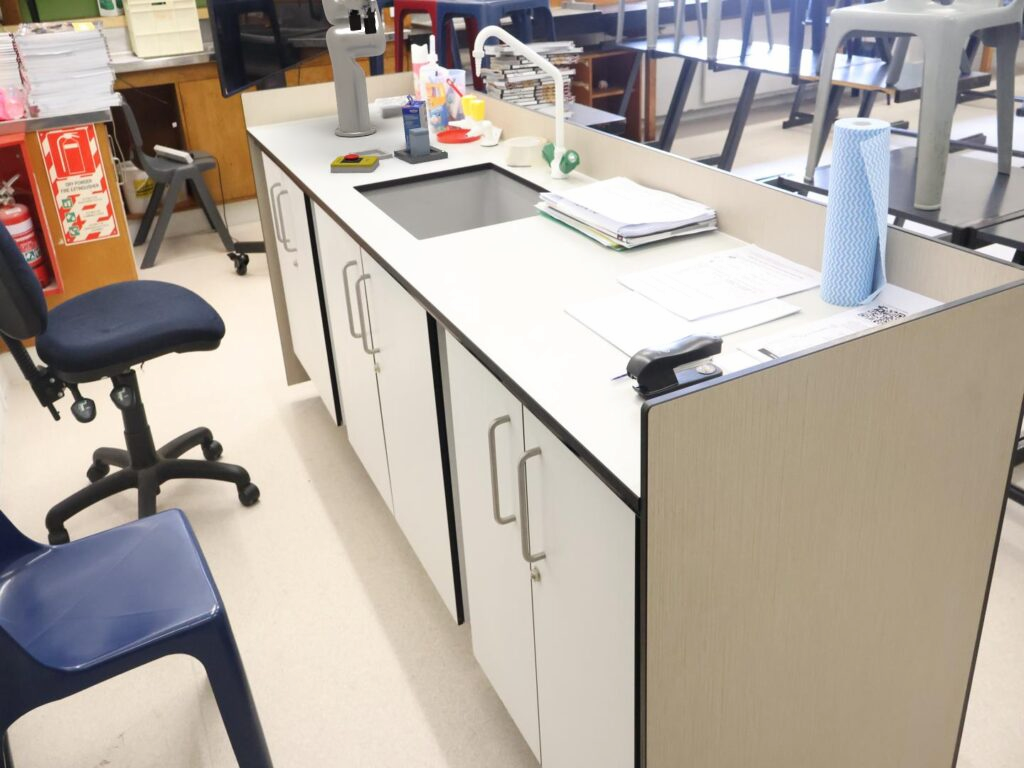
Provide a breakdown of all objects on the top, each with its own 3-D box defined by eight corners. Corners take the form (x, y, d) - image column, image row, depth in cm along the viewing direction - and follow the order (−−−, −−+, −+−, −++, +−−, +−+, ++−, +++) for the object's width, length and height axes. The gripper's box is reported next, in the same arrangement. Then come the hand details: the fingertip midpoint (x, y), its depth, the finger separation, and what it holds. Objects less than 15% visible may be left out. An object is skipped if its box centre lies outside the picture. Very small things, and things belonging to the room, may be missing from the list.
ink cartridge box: (411, 142, 269) (407, 92, 262) (430, 142, 268) (426, 91, 262) (404, 150, 260) (400, 98, 253) (423, 150, 260) (420, 98, 253)
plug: (411, 158, 252) (408, 129, 248) (424, 156, 253) (422, 127, 250) (417, 161, 248) (415, 132, 245) (430, 159, 250) (428, 129, 247)
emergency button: (332, 151, 245) (386, 151, 244) (334, 167, 247) (388, 167, 246) (322, 160, 237) (379, 159, 236) (324, 176, 239) (380, 176, 238)
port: (394, 158, 253) (393, 149, 251) (429, 152, 258) (429, 144, 256) (412, 166, 244) (411, 157, 243) (448, 159, 249) (447, 151, 248)
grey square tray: (349, 158, 254) (349, 152, 253) (379, 153, 258) (378, 148, 257) (362, 164, 247) (362, 159, 247) (392, 159, 251) (392, 154, 251)
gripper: (330, -38, 241) (337, 30, 249) (356, -36, 228) (363, 36, 236) (356, -40, 244) (363, 28, 252) (383, -38, 231) (389, 33, 239)
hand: (363, 32), depth 244 cm, fingers open, 9 cm apart
